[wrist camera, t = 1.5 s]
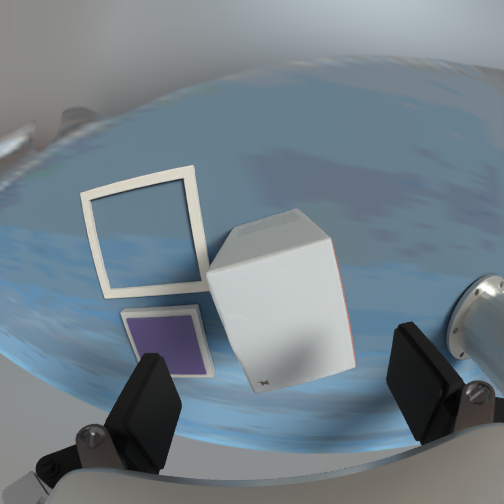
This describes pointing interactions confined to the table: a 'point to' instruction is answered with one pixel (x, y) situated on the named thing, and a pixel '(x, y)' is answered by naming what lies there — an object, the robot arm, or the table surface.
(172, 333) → the ink pad
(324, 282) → the small box
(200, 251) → the outlined square
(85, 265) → the table surface
